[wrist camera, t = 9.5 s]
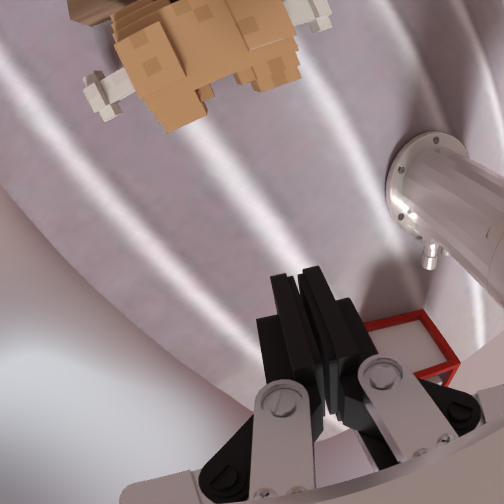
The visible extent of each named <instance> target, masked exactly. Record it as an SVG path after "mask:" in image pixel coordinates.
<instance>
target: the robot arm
mask: <svg viewBox="0 0 504 504" xmlns="http://www.w3.org/2000/svg"><path fill="white" fill-rule="evenodd" d="M386 202H387V206H388V210H389V213H390V214H391V216H392V218H393V220H394V221H395V222H396V223H397V224H398V226H400V227H401V228H402V229H403V230H404V231H406V232H408V233H409V234H411V235H416V236H421V237H422V244H423V245H424V252H423V257H422V267H423V268H424V269H427V270H433V269H435V268H436V264H437V257H438V253H437V252H438V248H439V247H440V246H441V254H443V255H451V256H452V257H453V258H454V259H455V260H456V261H457V262H458V263H459V264H460V265H461V266H462V267H463V268H464V269H465V270H466V271H467V272H468V273H469V274H470V275H471V276H472V277H473V278H474V279H475V280H476V281H477V282H478V283H479V284H480V285H481V286H482V287H483V288H484V289H485V290H486V291H487V292H488V294H489V295H490V296H491V297H492V298H493V299H494V300H495V301H496V302H497V303H498V304H499V305H500V306H501V307H502V308H503V309H504V176H502V175H500V174H498V173H497V172H495V171H493V170H491V169H489V168H487V167H485V166H483V165H481V164H479V163H477V162H475V161H473V160H471V159H470V156H469V154H468V152H467V150H466V148H465V147H464V145H463V144H462V143H461V142H460V141H459V140H457V139H456V138H455V137H453V136H451V135H449V134H446V133H443V132H438V131H432V132H426V133H422V134H420V135H418V136H416V137H414V138H412V139H411V140H410V141H409V142H408V143H406V144H405V145H404V147H403V148H402V149H401V150H400V151H399V152H398V154H397V156H396V157H395V159H394V161H393V163H392V165H391V168H390V170H389V173H388V178H387V182H386ZM270 279H271V284H272V289H273V294H274V299H275V304H276V309H277V315H273V316H268V317H264V318H259V319H256V322H257V328H258V334H259V340H260V347H261V353H262V359H263V365H264V371H265V377H266V383H267V384H266V385H265V386H264V387H263V388H262V389H260V391H259V392H258V394H257V395H256V399H255V403H254V414H253V415H252V416H251V417H250V418H249V420H248V421H247V422H246V423H245V424H244V425H243V426H242V427H241V428H240V429H239V430H238V431H237V432H236V434H234V436H233V437H232V438H231V439H230V440H229V441H228V442H227V443H226V444H225V445H224V446H223V447H222V448H221V449H220V450H219V451H218V452H217V453H216V454H215V455H214V456H213V457H212V458H211V459H210V460H209V461H208V462H207V463H206V464H205V466H204V467H203V468H202V469H199V470H196V471H192V472H191V471H190V470H187V471H183V472H179V473H176V474H172V475H168V476H164V477H160V478H156V479H151V480H147V481H142V482H138V483H134V484H131V485H128V486H127V487H126V488H125V489H124V490H123V491H122V493H121V495H120V502H119V504H504V384H503V385H499V386H496V387H492V388H488V389H484V390H480V391H477V393H476V394H474V395H470V394H467V393H465V392H462V391H458V390H455V389H452V388H449V387H445V386H442V385H439V384H436V383H433V382H430V381H426V380H423V379H420V378H417V377H415V376H414V374H413V373H412V372H411V370H410V369H409V368H408V366H407V365H406V364H405V363H404V362H403V361H402V360H401V359H400V358H398V357H396V356H394V355H391V354H378V352H377V350H376V348H375V346H374V344H373V342H372V340H371V338H370V336H369V334H368V332H367V330H366V328H365V326H364V324H363V322H362V320H361V318H360V316H359V314H358V312H357V310H356V308H355V307H354V305H353V303H352V301H351V299H350V298H344V299H340V300H335V298H334V296H333V294H332V292H331V290H330V288H329V286H328V283H327V281H326V279H325V277H324V275H323V273H322V271H321V269H320V267H319V266H314V267H310V268H306V269H303V274H298V283H299V291H300V294H299V291H298V289H297V286H296V283H295V280H294V277H293V276H290V277H287V275H286V273H283V274H279V275H275V276H270ZM325 400H326V404H327V407H328V411H329V413H330V415H331V414H335V413H336V416H337V420H338V421H342V422H343V425H345V426H347V427H350V428H352V429H353V431H354V434H355V436H356V438H357V440H358V442H359V444H360V445H361V447H362V449H363V451H364V453H365V455H366V457H367V459H368V460H369V462H370V464H371V466H372V468H373V470H374V473H372V474H368V475H365V476H362V477H359V478H355V479H352V480H349V481H345V482H341V483H337V484H334V485H330V486H326V487H322V488H316V467H315V448H314V442H315V441H316V440H317V438H318V437H319V436H320V434H321V433H322V431H323V417H324V416H325Z"/></svg>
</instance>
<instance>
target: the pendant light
mask: <svg viewBox="0 0 504 504" xmlns="http://www.w3.org/2000/svg"><path fill="white" fill-rule="evenodd" d="M363 324H364V326H365V328H366V330H367V332H368V334H369V336H370V338H371V340H372V342H373V344H374V346H375V348H376V350H377V352H378V354H391V355H394V356H396V357H398V358H400V359H401V360H402V361H403V362H404V363H405V364H406V365H407V366H408V368H409V369H410V370H411V372H412V373H413V374H414V376H415V377H417V378H420V379H423V380H426V381H430V382H433V383H436V384H439V385H442V386H445V387H448V385H449V383H450V382H451V380H452V378H453V376H454V374H455V373H456V371H457V369H458V367H459V366H460V364H461V362H460V361H459V359H458V358H457V356H456V355H455V353H454V352H453V350H452V349H451V347H450V346H449V344H448V343H447V341H446V340H445V339H444V337H443V336H442V334H441V333H440V332H439V330H438V329H437V327H436V326H435V325H434V323H433V322H432V320H431V319H430V318H429V316H428V315H427V314H426V312H425V311H424V309H422V310H418V311H414V312H410V313H406V314H402V315H397V316H393V317H389V318H384V319H380V320H375V321H370V322H366V323H363Z"/></svg>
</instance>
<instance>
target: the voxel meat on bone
mask: <svg viewBox="0 0 504 504" xmlns="http://www.w3.org/2000/svg"><path fill="white" fill-rule="evenodd" d="M330 14H332V11H331V9H330V7H329V4H328V2H327V0H286V1H282V0H179V1H177V2H174V3H172V4H171V3H170V1H169V0H156V1H154V0H138V1H136V2H134V3H132V4H130V5H128V6H126V7H124V8H123V9H121V10H119V11H117V12H115V13H114V14H112V15H110V17H111V19H112V21H113V23H112V24H111V26H112V28H113V30H114V32H115V33H113V34H112V35H113V37H114V39H115V42H116V44H114V47H115V50H116V52H117V54H118V56H119V58H120V60H121V62H122V64H123V66H124V67H123V68H121V69H119V70H118V71H116V72H114V73H112V74H111V75H109V76H107V77H106V78H105V76H104V74H103V72H102V71H92V72H91V73H89V74H88V75H86V76H85V77H83V80H84V82H85V85H86V88H85V89H83V91H84V93H85V95H86V97H87V99H88V101H89V103H90V105H91V107H92V109H93V111H94V113H95V112H98V111H99V113H100V115H101V116H102V118H103V120H104V122H106V121H108V120H110V119H112V118H114V117H116V116H117V115H119V114H121V113H123V112H122V110H121V108H120V106H119V104H118V102H120V100H121V99H123V98H125V97H127V96H128V95H130V94H132V93H134V92H136V93H137V95H138V97H139V99H144V101H145V103H146V105H147V107H148V109H149V111H150V112H151V111H153V112H154V114H155V116H156V118H157V120H158V122H159V123H161V122H162V124H163V126H164V128H165V130H166V132H167V134H168V133H170V132H172V131H174V130H176V129H178V128H180V127H182V126H184V125H186V124H188V123H190V122H193V121H195V120H197V119H199V118H201V117H204V116H206V115H207V110H208V109H207V107H206V105H205V103H204V101H205V100H207V99H209V98H212V97H214V96H215V95H214V92H213V90H212V88H211V86H210V84H209V83H212V82H214V81H216V80H219V79H221V78H223V77H226V76H228V75H231V74H233V75H234V77H235V79H236V81H237V84H241V85H243V84H245V83H248V82H251V84H252V87H253V89H254V90H255V91H258V92H264V91H266V90H269V89H272V88H275V87H277V86H280V85H283V84H286V83H289V82H291V81H294V80H297V79H300V78H301V75H300V73H299V70H298V68H297V66H298V65H300V63H299V60H298V58H297V55H296V53H295V51H299V50H298V47H297V45H296V42H295V40H294V38H293V36H295V35H297V34H296V31H295V29H294V27H293V26H296V25H300V24H307V23H308V24H309V26H310V28H311V31H312V33H316V32H319V31H323V30H326V29H329V28H332V25H331V22H330V20H329V17H328V15H330Z"/></svg>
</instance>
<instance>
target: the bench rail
mask: <svg viewBox="0 0 504 504" xmlns="http://www.w3.org/2000/svg"><path fill="white" fill-rule="evenodd" d="M136 1H138V0H67V4H68V10H69V15H70V20H74V21H77V22H80V23H83V24H85V25H88V26H91V27H92V26H94V25H96V24H99V23H101V22H104V21H106V20H109V19H111V17H110V15H112V14H114V13H115V12H117V11H119V10H121V9H123V8H124V7H126V6H128V5H130V4H132V3H134V2H136ZM154 1H156V0H154Z"/></svg>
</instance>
